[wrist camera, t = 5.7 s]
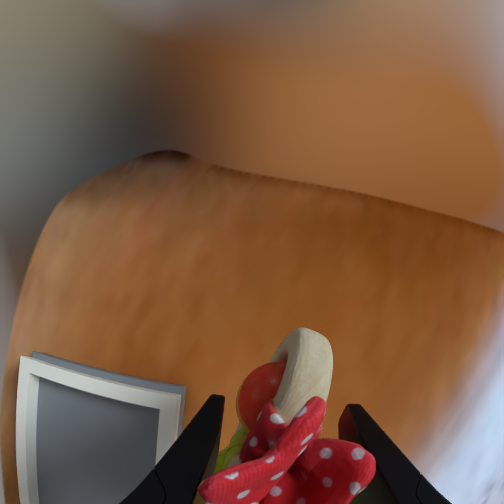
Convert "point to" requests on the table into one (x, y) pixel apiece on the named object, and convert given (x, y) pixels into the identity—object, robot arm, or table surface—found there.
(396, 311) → the table surface
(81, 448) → the base plate
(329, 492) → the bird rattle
